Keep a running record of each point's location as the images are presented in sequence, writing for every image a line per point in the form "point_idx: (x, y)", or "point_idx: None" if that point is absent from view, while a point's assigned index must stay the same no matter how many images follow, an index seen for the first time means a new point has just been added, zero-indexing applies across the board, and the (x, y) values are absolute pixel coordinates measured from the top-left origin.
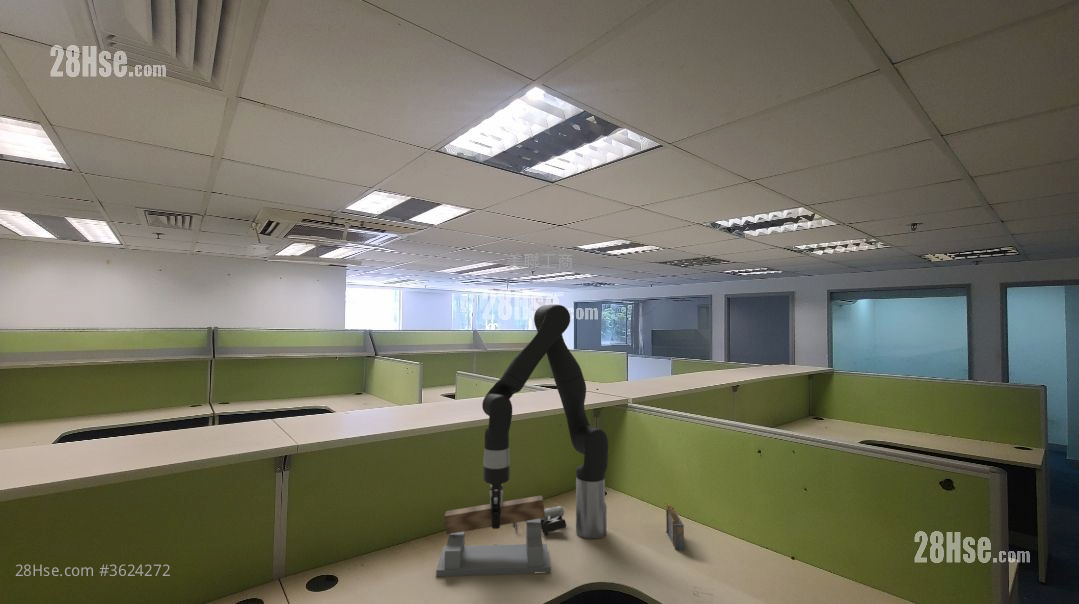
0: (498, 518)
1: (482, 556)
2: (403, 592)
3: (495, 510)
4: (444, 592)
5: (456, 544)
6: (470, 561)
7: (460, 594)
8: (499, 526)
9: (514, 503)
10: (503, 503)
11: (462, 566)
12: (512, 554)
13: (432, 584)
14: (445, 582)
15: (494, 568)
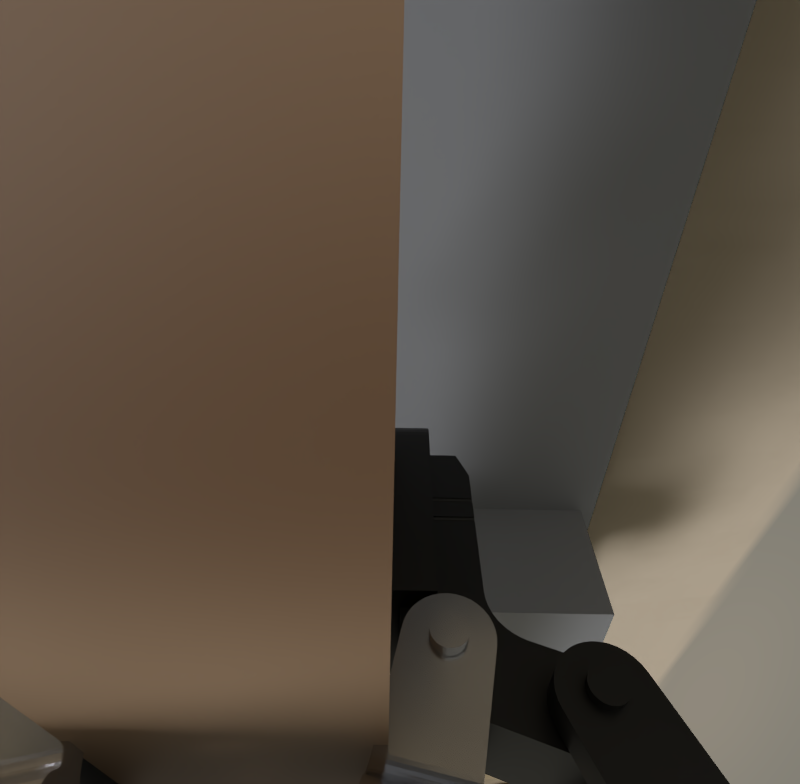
0: (432, 551)
1: (434, 392)
2: (658, 652)
3: (528, 770)
4: (734, 530)
5: None
6: (498, 462)
7: (796, 465)
8: (425, 440)
9: (264, 548)
10: (171, 718)
11: (556, 499)
12: (427, 122)
13: (632, 578)
14: (634, 534)
15: (658, 302)
